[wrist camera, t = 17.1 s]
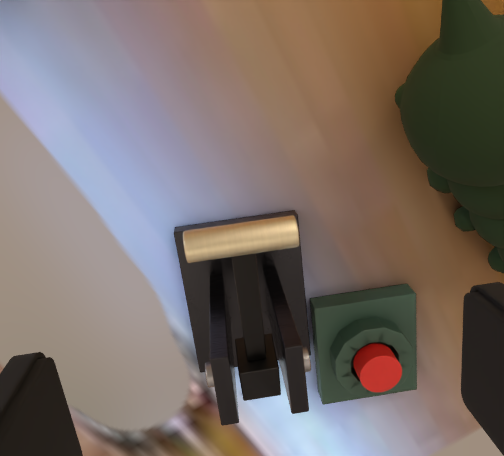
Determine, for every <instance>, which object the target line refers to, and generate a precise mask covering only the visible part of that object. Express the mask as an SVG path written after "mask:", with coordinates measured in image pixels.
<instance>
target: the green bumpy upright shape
mask: <svg viewBox="0 0 504 456" xmlns="http://www.w3.org/2000/svg"><path fill="white" fill-rule="evenodd" d="M395 102H396V104H397V105H398V107H399V108H400V112H401V120H402V124H403V128H404V131H405V133H406V136H407V138H408V140H409V143H410V145H411V147H412V148H413V150H414V151H415V153H416V154H417V156H418V157H419V158H420V160H421V161H422V162H423V163H424V164H425V165H426V166H427V167H429V168H428V170H427V174H428V180H429V183H430V186H432V187H433V188H434V189H436V190H437V191H440V192H443V193H452V194H453V196H454V197H455V198H456V200H457V201H458V202H459V203H460V204H461V205H462V207H460V208H459V209H457V210H456V212H455V213H454V219H455V225H456V227H458V228H459V229H461V230H462V231H473V230H476V231H477V232H478V234H479V235H480V236H481V237H482V238H483V239H485V240H486V241H487V242H489V243H490V244H492V245H493V246H496V247H495V248H494V249H493V250H492V251H491V252H489V256H488V261H489V264H490V266H491V267H492V269H494V270H496V271H498V272H501V273H504V15H493V14H492V13H491V12H490V11H489V10H488V9H487V7H486V6H485V5H484V4H483V3H482V1H481V0H443V1H442V15H441V28H440V38H438V39H437V40H436V41H435V42H434V43H433V44H432V45H431V46H430V47H429V48H428V49H427V50H426V51H425V52H424V53H423V55H422V56H421V57H420V58H419V60H418V61H417V63H416V64H415V66H414V67H413V69H412V71H411V72H410V74H409V75H408V77H407V80H406V82H405V83H404V84H403V85H402V86H400V87H399V88H398V90H397V91H396V94H395Z"/></svg>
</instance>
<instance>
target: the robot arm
mask: <svg viewBox="0 0 504 456" xmlns="http://www.w3.org/2000/svg"><path fill="white" fill-rule="evenodd" d="M461 394H462V398H463V401H464V403H465V405H466V407H467V408H468V410H469V411H470V412H471V414H472V415H473V416H474V418H475V419H476V420H477V421H478V423H479V424H480V425H481V427H482V428H483V429H484V431H485V432H486V433H487V434H488V436H489V437H490V438H491V440H492V441H493V442H494V444H495V445H496V446H497V448H498V449H499V450H500V452H501V453H502V454H503V455H504V284H502V283H500V282H495V283H489V284H482V285H476V286H473V287H472V288H471V290H470V293H467V294H465V296H464V308H463V341H462V374H461ZM0 456H83V455H82V450H81V447H80V444H79V440H78V437H77V434H76V431H75V427H74V424H73V421H72V418H71V414H70V411H69V408H68V405H67V401H66V398H65V395H64V392H63V389H62V385H61V382H60V379H59V375H58V372H57V369H56V366H55V363H54V360H53V359H52V358H50V357H49V358H46V357H45V355H44V354H43V353H41V352H38V353H32V354H25V355H18V356H14V357H12V358H11V359H10V360H9V362H8V363H7V365H6V366H5V368H4V369H3V371H2V372H1V374H0Z"/></svg>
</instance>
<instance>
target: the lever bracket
mask: <svg viewBox="0 0 504 456" xmlns="http://www.w3.org/2000/svg"><path fill="white" fill-rule="evenodd" d="M291 215H293V216H295V218H296V221H297V225H298V231H299V224H298V215H297V213H296V212H295V210H292V211H285V212H278V213H271V214H264V215H257V216H250V217H243V218H236V219H229V220H222V221H215V222H208V223H201V224H194V225H187V226H180V227H175V230H174V237H175V242H176V247H177V253H178V258H179V263H180V268H181V274H182V279H183V284H184V290H185V295H186V300H187V306H188V311H189V316H190V322H191V327H192V332H193V338H194V343H195V348H196V353H197V359H198V364H199V369H200V372H205V373H206V380H207V385H208V387H215V392H216V397H217V403H218V409H219V414H220V420H221V425H228V424H234V423H239V416H238V404H237V393H236V381H235V369H234V367H238V362H237V354H236V345H235V339H237V338H244V336H243V330H242V323H241V317H240V310H239V303H238V297H237V290H236V284H235V277H234V271H233V264H232V258H231V257H227V258H220V259H213V260H206V261H199V262H193V263H188V262H187V260H186V256H185V251H184V244H183V232H184V231H187V230H194V229H201V228H208V227H215V226H222V225H229V224H236V223H243V222H250V221H257V220H264V219H271V218H277V217H284V216H291ZM256 261H257V270H258V279H259V289H260V298H261V308H262V317H263V327H264V334H270V333H272V336H273V341H274V346H275V351H276V356H277V360H279V363H280V367H281V371H282V375H283V379H284V383H285V387H286V392H287V396H288V400H289V404H290V408H291V412H292V414H294V413H301V412H307V411H309V406H308V396H307V386H306V376H305V372H309V371H311V364H310V357H309V355H311V352H310V341H309V330H308V320H307V309H306V299H305V288H304V277H303V267H302V256H301V246H300V235H299V246H298V247H295V248H288V249H281V250H274V251H268V252H261V253H256Z"/></svg>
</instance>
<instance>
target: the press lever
mask: <svg viewBox="0 0 504 456" xmlns="http://www.w3.org/2000/svg"><path fill="white" fill-rule="evenodd" d="M183 244H184V251H185V256H186V260H187V262H188V263H193V262H199V261H206V260H213V259H220V258H227V257H231V258H232V264H233V271H234V277H235V284H236V290H237V297H238V303H239V310H240V317H241V323H242V330H243V336H244V338H237V339H235V345H236V354H237V362H238V371H239V377H240V383H241V388H242V394H243V400H244V401H246V400H252V399H258V398H264V397H270V396H277V395H281V390H280V378H279V367H278V362H277V356H276V351H275V346H274V341H273V336H272V333H270V334H264V327H263V317H262V308H261V298H260V289H259V279H258V270H257V261H256V253H261V252H268V251H274V250H281V249H288V248H295V247H298V246H299V231H298V225H297V221H296V218H295V216H293V215H291V216H284V217H277V218H271V219H264V220H257V221H250V222H243V223H236V224H229V225H222V226H215V227H208V228H201V229H194V230H187V231H184V232H183Z"/></svg>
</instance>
